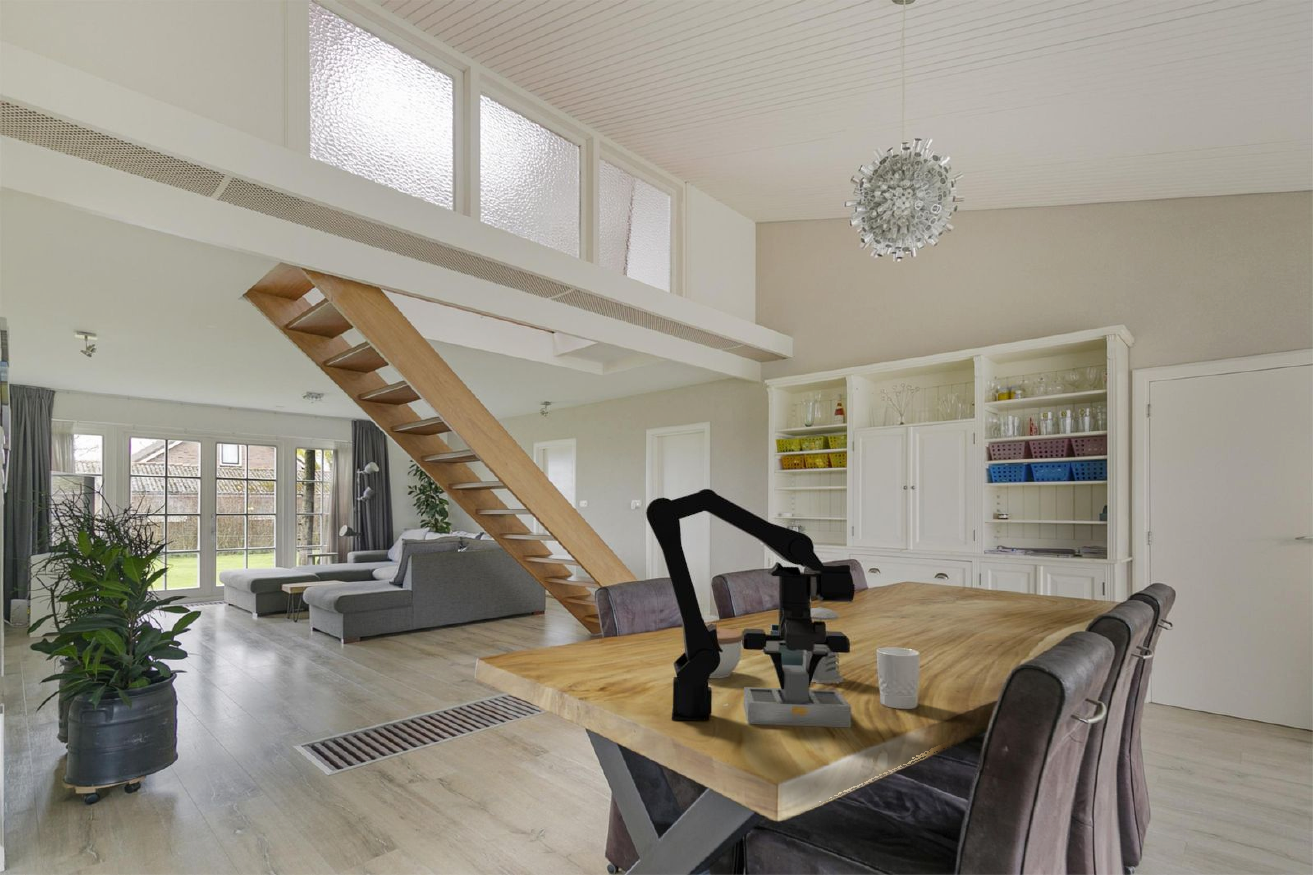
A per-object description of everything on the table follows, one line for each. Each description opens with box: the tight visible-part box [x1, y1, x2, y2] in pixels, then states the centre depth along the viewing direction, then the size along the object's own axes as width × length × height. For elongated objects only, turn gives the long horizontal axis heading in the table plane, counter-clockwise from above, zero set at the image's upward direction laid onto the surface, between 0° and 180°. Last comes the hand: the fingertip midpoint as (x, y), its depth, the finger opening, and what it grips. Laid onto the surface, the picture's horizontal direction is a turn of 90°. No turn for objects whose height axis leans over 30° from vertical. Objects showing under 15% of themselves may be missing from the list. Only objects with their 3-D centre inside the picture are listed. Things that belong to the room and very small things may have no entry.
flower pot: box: [769, 624, 804, 666], centre depth 163 cm, size 9×9×9 cm
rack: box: [743, 686, 852, 728], centre depth 124 cm, size 18×11×4 cm, turn 87°
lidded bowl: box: [709, 623, 743, 679], centre depth 155 cm, size 13×13×11 cm
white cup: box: [876, 646, 921, 710], centre depth 134 cm, size 8×8×10 cm
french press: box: [802, 601, 845, 685], centre depth 153 cm, size 10×12×25 cm
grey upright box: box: [781, 665, 810, 701], centre depth 125 cm, size 4×7×4 cm, turn 176°
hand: (794, 689), depth 125 cm, fingers closed on grey upright box, 4 cm apart
